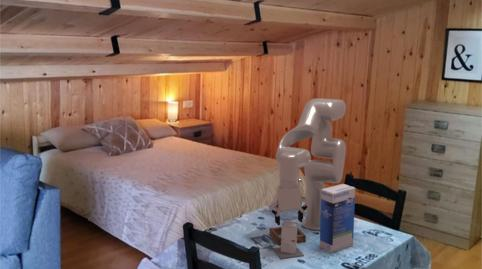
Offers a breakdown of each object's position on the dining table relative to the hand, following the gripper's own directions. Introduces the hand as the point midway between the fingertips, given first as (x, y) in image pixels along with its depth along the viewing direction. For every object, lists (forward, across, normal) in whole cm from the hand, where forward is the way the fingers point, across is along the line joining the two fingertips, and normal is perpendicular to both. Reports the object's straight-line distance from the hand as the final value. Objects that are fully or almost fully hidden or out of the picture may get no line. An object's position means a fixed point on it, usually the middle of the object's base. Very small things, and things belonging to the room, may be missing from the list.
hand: (289, 222), depth 198 cm
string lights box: (+14, -21, +1) cm, 25 cm away
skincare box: (+12, 0, +1) cm, 12 cm away
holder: (+13, -4, -13) cm, 19 cm away
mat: (+13, +1, +1) cm, 13 cm away
